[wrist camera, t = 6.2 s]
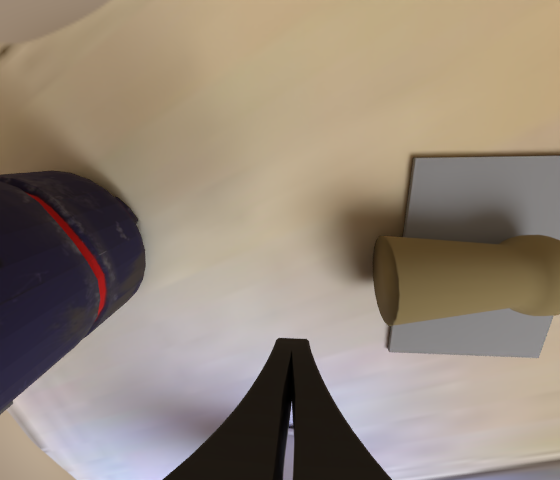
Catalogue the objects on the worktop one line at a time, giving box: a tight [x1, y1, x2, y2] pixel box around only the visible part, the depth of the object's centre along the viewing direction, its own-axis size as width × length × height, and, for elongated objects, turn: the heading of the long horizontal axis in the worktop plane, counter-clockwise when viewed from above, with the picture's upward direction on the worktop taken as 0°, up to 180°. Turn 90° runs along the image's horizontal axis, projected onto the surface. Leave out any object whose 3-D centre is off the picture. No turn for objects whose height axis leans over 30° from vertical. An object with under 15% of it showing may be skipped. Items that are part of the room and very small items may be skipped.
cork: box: [373, 235, 560, 326], centre depth 18 cm, size 6×6×11 cm
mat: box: [388, 156, 560, 358], centre depth 20 cm, size 16×12×1 cm
